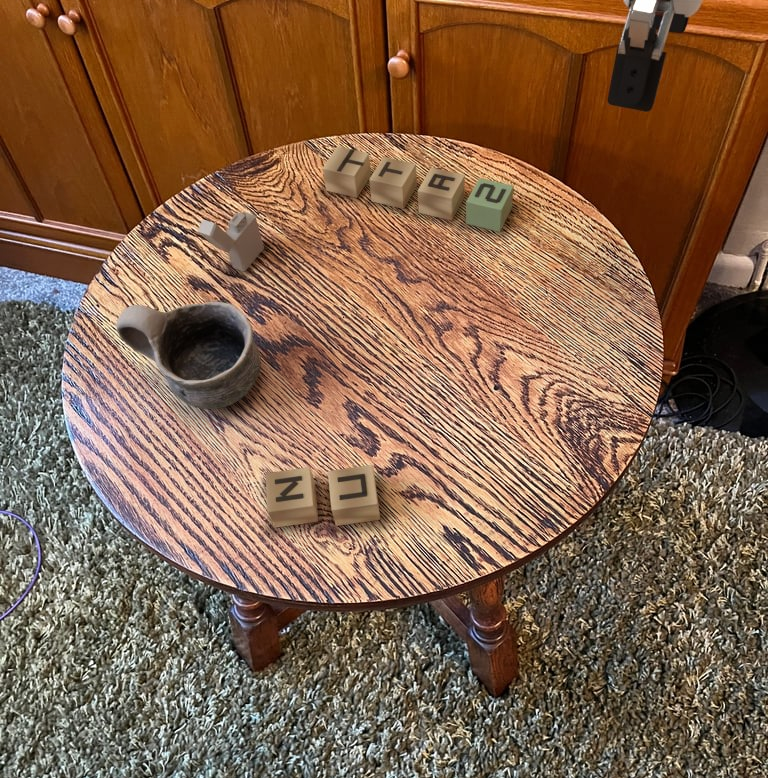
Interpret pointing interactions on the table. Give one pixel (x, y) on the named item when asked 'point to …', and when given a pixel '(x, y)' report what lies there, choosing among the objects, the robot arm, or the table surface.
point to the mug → (196, 350)
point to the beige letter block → (347, 171)
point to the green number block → (489, 204)
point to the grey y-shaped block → (236, 239)
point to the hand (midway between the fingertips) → (647, 65)
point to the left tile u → (353, 495)
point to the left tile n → (291, 497)
